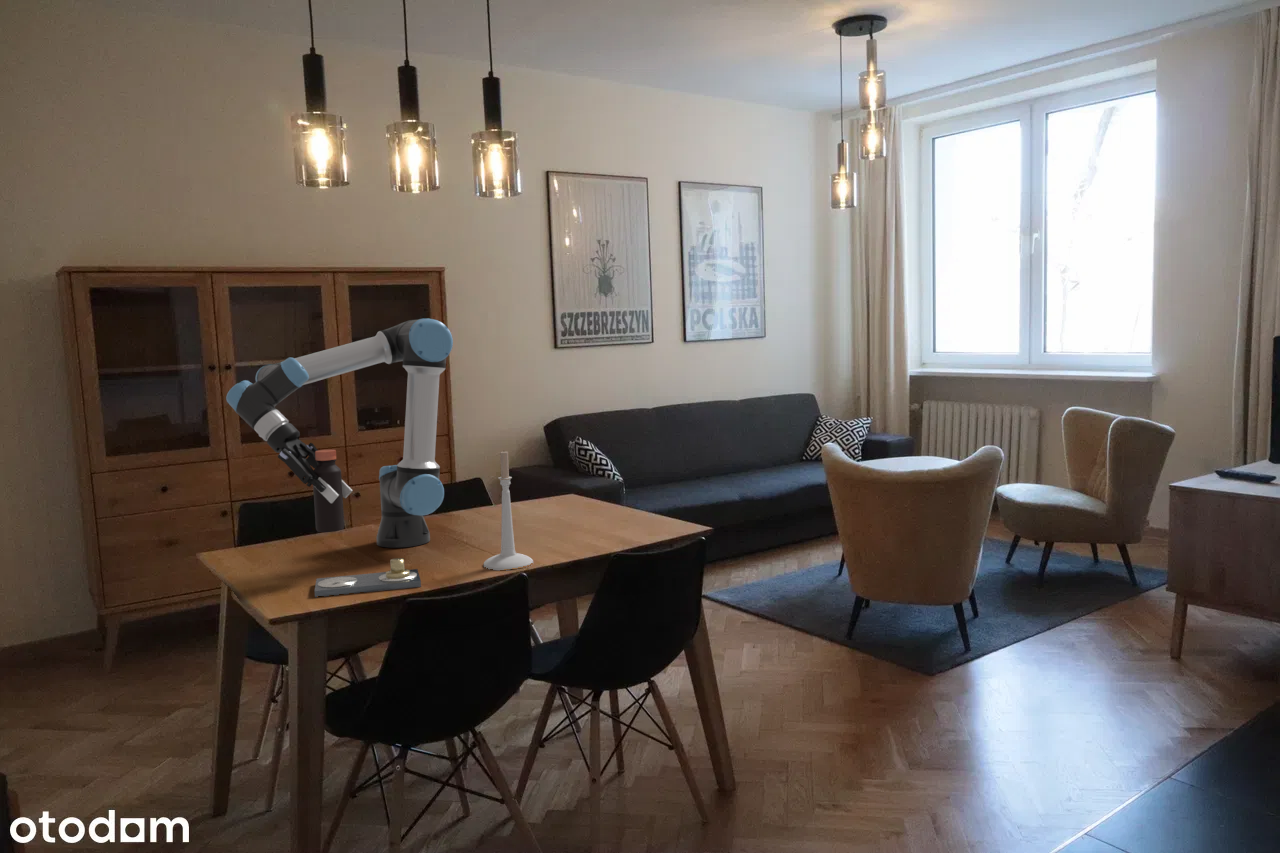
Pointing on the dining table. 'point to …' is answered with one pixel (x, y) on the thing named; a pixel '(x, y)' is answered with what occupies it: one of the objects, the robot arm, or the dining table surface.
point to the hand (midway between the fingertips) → (341, 496)
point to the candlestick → (506, 528)
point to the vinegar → (326, 513)
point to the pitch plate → (370, 581)
